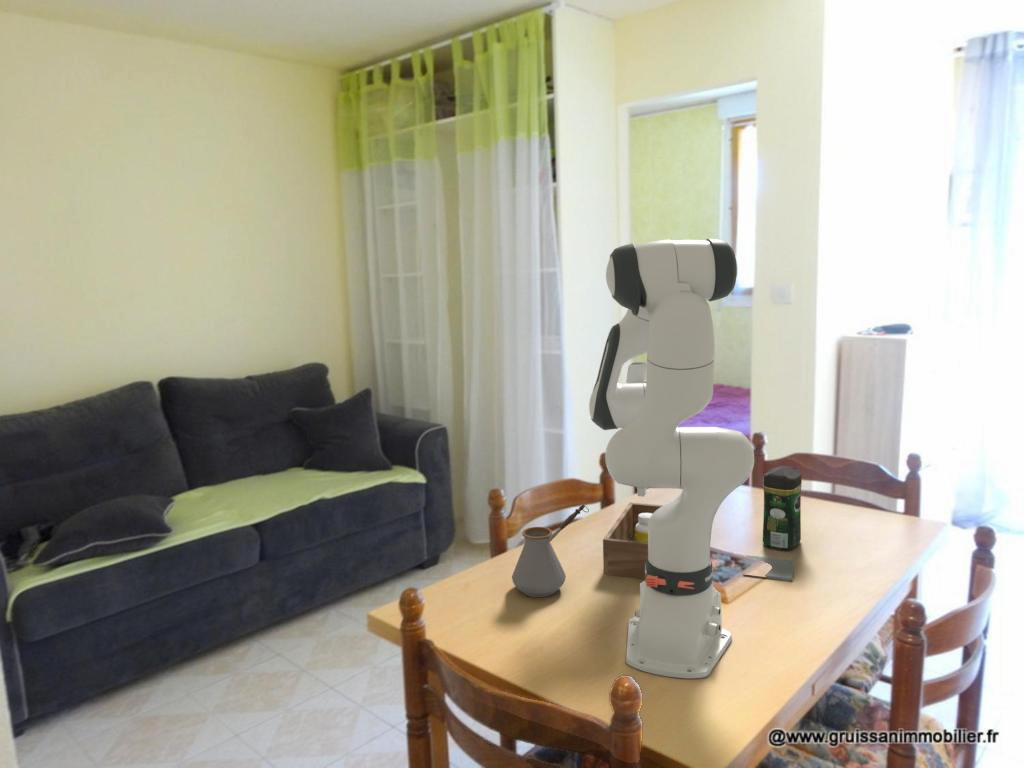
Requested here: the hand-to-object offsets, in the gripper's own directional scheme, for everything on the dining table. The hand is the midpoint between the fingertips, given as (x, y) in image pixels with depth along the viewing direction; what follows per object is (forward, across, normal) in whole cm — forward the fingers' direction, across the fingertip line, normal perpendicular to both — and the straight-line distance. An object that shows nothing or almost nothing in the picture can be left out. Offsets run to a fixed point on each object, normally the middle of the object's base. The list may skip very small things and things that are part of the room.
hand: (646, 488), depth 169 cm
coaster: (+16, -1, -27) cm, 32 cm away
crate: (+16, -1, 0) cm, 16 cm away
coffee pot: (+16, -21, +16) cm, 31 cm away
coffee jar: (+16, +15, -29) cm, 37 cm away
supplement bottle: (+16, -1, 0) cm, 16 cm away
